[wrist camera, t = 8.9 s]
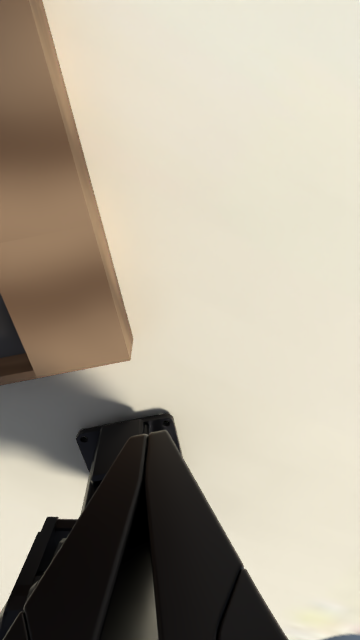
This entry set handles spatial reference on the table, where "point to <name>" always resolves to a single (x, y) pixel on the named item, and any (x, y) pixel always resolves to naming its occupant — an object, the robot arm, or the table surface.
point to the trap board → (49, 219)
